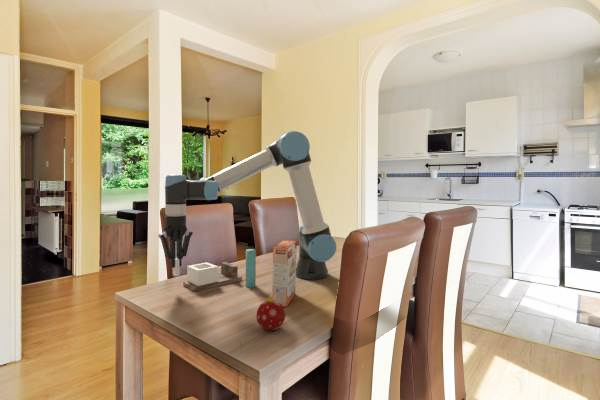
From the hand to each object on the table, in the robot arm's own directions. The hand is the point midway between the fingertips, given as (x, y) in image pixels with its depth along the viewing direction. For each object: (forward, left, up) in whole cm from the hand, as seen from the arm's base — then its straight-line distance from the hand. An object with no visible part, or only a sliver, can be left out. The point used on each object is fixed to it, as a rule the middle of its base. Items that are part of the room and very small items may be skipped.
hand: (176, 275), depth 133 cm
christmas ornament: (-50, -6, -7) cm, 51 cm away
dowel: (-14, -25, -7) cm, 30 cm away
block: (0, -11, -5) cm, 12 cm away
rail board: (0, -16, -7) cm, 17 cm away
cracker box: (-35, -25, -7) cm, 44 cm away
